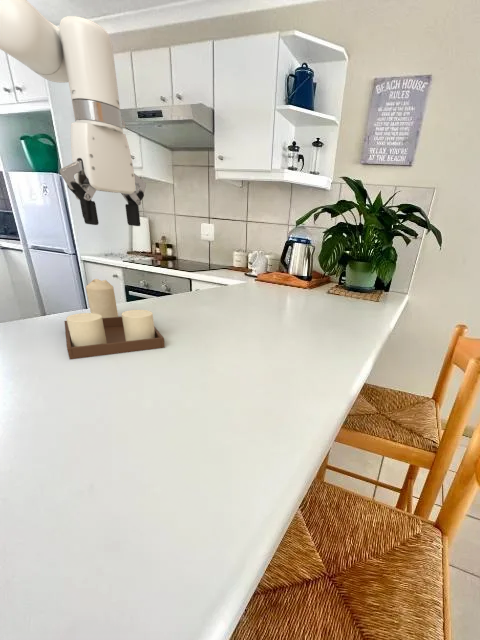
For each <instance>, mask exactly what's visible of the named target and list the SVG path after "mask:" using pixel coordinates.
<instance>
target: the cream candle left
mask: <svg viewBox="0 0 480 640" xmlns="http://www.w3.org/2000/svg"><path fill="white" fill-rule="evenodd" d="M65 320H66V321H67V324H68V328H69V332H70V336H71V340H72V344H73V347H78V346H87V345H96V344H105V343H107V341H106V336H105V331H104V325H103V320H102V316H101V315H99V314H95V313H91V312H80V313H75V314H71V315H68V316H67V317H66V319H65Z"/></svg>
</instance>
